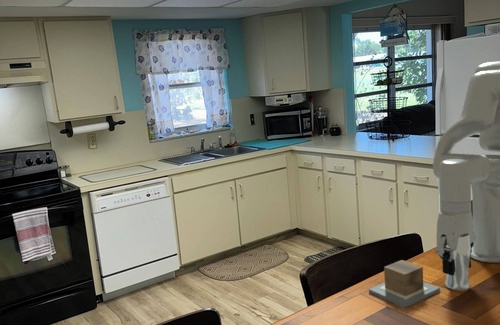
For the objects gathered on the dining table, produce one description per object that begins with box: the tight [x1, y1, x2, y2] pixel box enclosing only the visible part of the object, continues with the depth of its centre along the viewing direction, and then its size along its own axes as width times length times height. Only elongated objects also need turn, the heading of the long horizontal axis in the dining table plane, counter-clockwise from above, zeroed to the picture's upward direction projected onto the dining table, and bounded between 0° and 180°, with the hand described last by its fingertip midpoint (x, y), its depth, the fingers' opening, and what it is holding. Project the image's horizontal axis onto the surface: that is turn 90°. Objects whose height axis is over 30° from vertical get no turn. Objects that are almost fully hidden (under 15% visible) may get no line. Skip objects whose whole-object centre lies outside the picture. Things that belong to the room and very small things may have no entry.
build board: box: [368, 281, 441, 309], centre depth 125 cm, size 14×12×1 cm
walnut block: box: [383, 259, 424, 296], centre depth 125 cm, size 7×7×6 cm
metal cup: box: [444, 233, 471, 292], centre depth 125 cm, size 7×7×15 cm
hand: (456, 269), depth 125 cm, fingers closed on metal cup, 6 cm apart
